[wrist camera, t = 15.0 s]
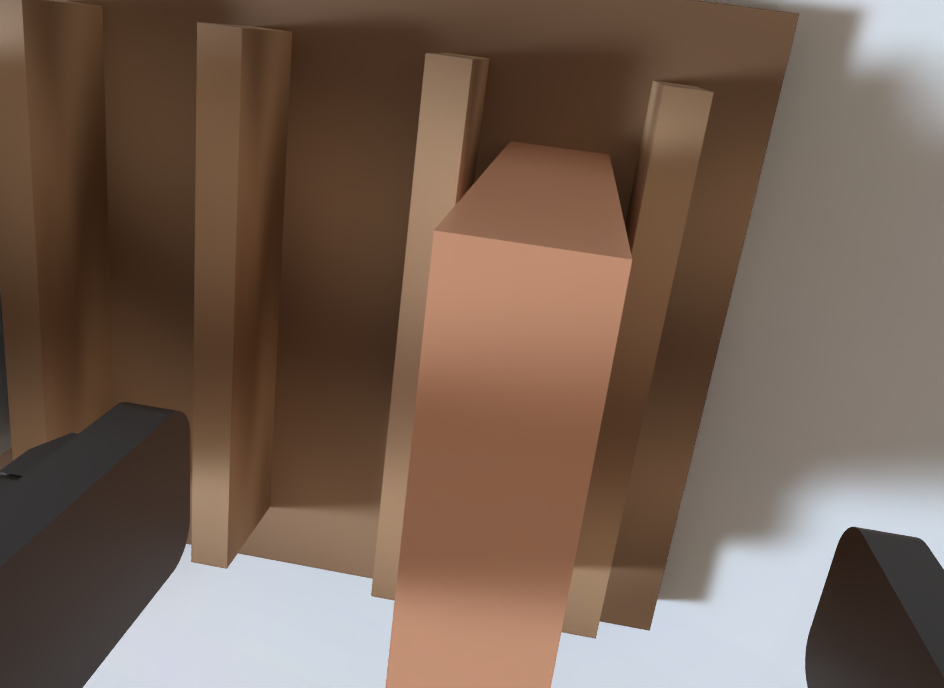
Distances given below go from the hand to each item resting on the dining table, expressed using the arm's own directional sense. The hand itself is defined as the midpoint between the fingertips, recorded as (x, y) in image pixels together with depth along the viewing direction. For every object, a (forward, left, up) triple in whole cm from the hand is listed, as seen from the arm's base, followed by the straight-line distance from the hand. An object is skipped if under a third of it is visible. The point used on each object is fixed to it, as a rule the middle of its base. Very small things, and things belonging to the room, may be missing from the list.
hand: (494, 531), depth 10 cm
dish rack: (0, -6, -10) cm, 11 cm away
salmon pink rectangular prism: (0, 0, -8) cm, 8 cm away
